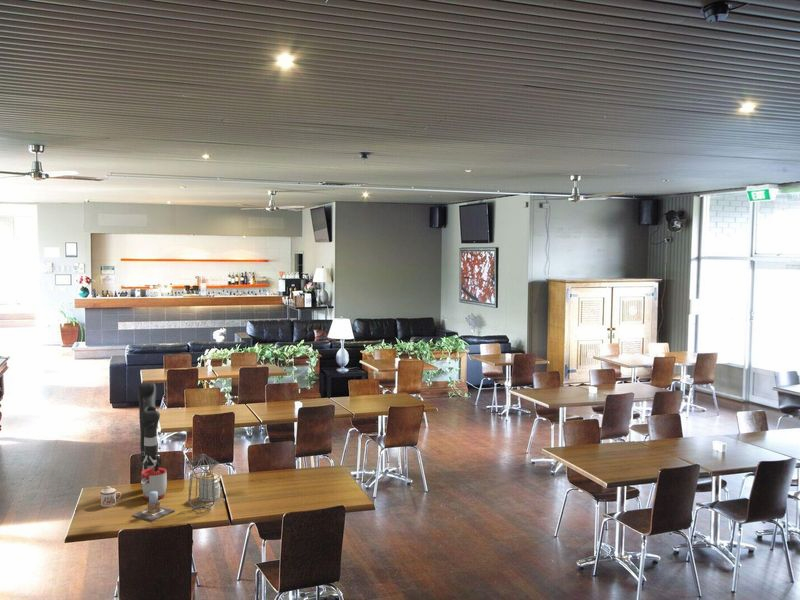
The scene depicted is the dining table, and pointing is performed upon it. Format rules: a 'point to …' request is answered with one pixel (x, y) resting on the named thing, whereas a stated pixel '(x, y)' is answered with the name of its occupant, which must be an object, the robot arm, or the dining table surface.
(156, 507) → the walnut block
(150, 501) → the pale blue rounded ovoid
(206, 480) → the jar
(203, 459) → the geometric lantern
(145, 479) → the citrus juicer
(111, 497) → the teacup with lid
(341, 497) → the dining table surface
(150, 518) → the building board
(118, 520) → the dining table surface
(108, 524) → the dining table surface
